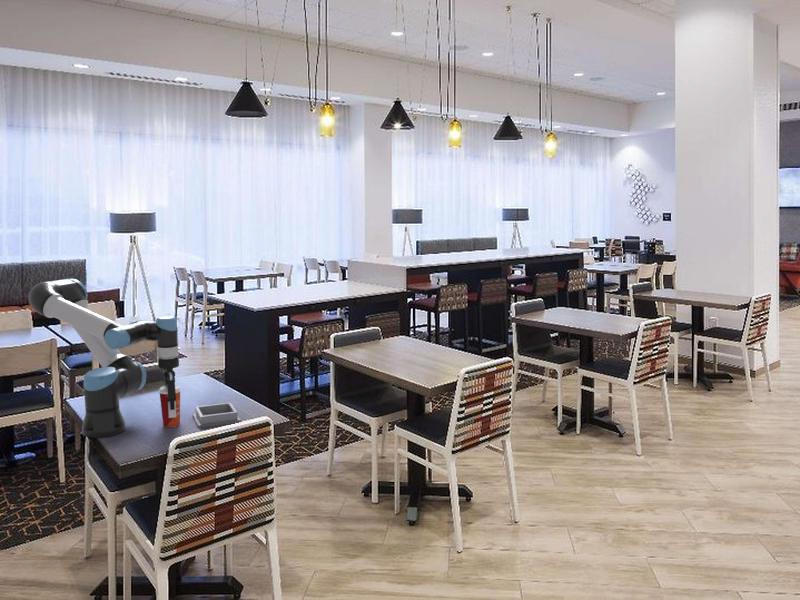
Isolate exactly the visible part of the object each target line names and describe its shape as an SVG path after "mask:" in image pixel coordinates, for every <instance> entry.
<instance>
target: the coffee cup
mask: <svg viewBox="0 0 800 600" xmlns="http://www.w3.org/2000/svg"><path fill="white" fill-rule="evenodd" d="M181 391H182V389H181V387H180V386H179V385H176V384H175V392H176V417H174V418H169V412H168V402H167V400H168V389H167V386H165V385H164V386H163V385H162V386H161V387H160V388H159V390H158V393H159V400H160V406H161V407H160V410H161V418H162V424H163V427H164V426H165V427H164V428H168V427H171V428H174V427H173V426H176V427H178V426H177V425H179V424H180V423H181V421H180V420H181ZM171 398H174V397H171ZM179 426H180V425H179Z"/></svg>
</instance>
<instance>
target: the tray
mask: <svg viewBox="0 0 800 600" xmlns="http://www.w3.org/2000/svg"><path fill="white" fill-rule="evenodd" d="M192 417H193V419H194V422H195V423H196V426H197V425H198V426H197V427H198V428H199V429H202V428H201V427H203V428H207V427H206V426H210V427H217V426H224V425H232V424H231V423H233V424H236V423H235V422H240V423H242V419H241V418H240V417H239V415H238V411H237V410H236V408H235V407H234V406H233V404H232V402H224V403H216V404H215V403H214V404H208V405H200V406H195V413H192Z"/></svg>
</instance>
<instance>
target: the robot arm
mask: <svg viewBox="0 0 800 600" xmlns="http://www.w3.org/2000/svg"><path fill="white" fill-rule="evenodd" d="M28 303H29V305H30V307H31V308H32V309H33V310H34V312H36V313H37V314H39V315H42V316H44V317H46V318H48V319H53V318H55V319H56V320H60V321H62V322H64V323H66V324H68V325H70V326H72V328H73V329H74V330H75V332H76V333H77V334H78V336H79V338H81V340H82V342H83V343H84V344H85V345H86V347H87V348H88V350H89V351H90V352H91V354H92V355H93V356H94V358H95V359H96V361H97V362H98V364H99V365H100V366H101V367H99V368H98V367H97V368H93V369H90V370H89V371H87V372H86V373H85V374H84V377H83V386H82V387H83V394H84V395H83V396H84V406H85V413H84V414H85V415H84V419H83V422H82V426H81V434H82V436H83V437H85V438H96V439H97V438H98V439H99V438H107V437H108V438H109V437H111V436H115V435H118V434H121V433H123V432H125V430H126V421H125V419H124V416H123V414H122V412H121V410H120V399H121V398H124V397H126V396H128V395H131V394H135V393H137V392H138V391H140V390H141V389H143V388H144V386H145V384H146V382H147V371H146V369H145V366H144V365H143V364H142V363H141V362H138V361H132V360H131V358H130V357H129V355H127V354H122V353H121V351H120V349H123V348H126V347H129V346H133V345H135V344H139V343H143V342H145V341H149V342H156V345H157V346H156V349H157V357H158V359H157V363H158V364H157V365H158V368H159V369H162V370H163V372H162V373H163V381H164V382H163V383H164V386H167V389H168V400H167V402H168V412H169V418H174V417H176V392H175V385H176V371H175V370H174V369H177V368H178V367H179V366H180V360H179V359H180V358H179V351H180V350H181V348H180V347H179V339H178V337H179V336H178V328H179V327H178V323H177V318H176V317H175V316H172V315H168V316H167V315H165V316H158V317H156V318H155V319H156V320H155V321H152V320H151V321H150V320H141V319H139V320H131V321H130V322H129V323H128V324H126V325H123V324H121V323H117V322H116V321H113V320H111V319H109V318H107V317H105V316H102V315H100V314H98V313H96V312H93V311H91V310H90V308H88V305H89V300H88V290H87V287H86V286H85V285H84V283H82V282H81V281H79V280H78V279H76V278H62V279H61V278H60V279H55V280H50V281H42V282H39V283H37V284H35V285H34V286H33V287H32V288H31V289H30V291H29V293H28ZM171 397H174V398H171Z"/></svg>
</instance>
